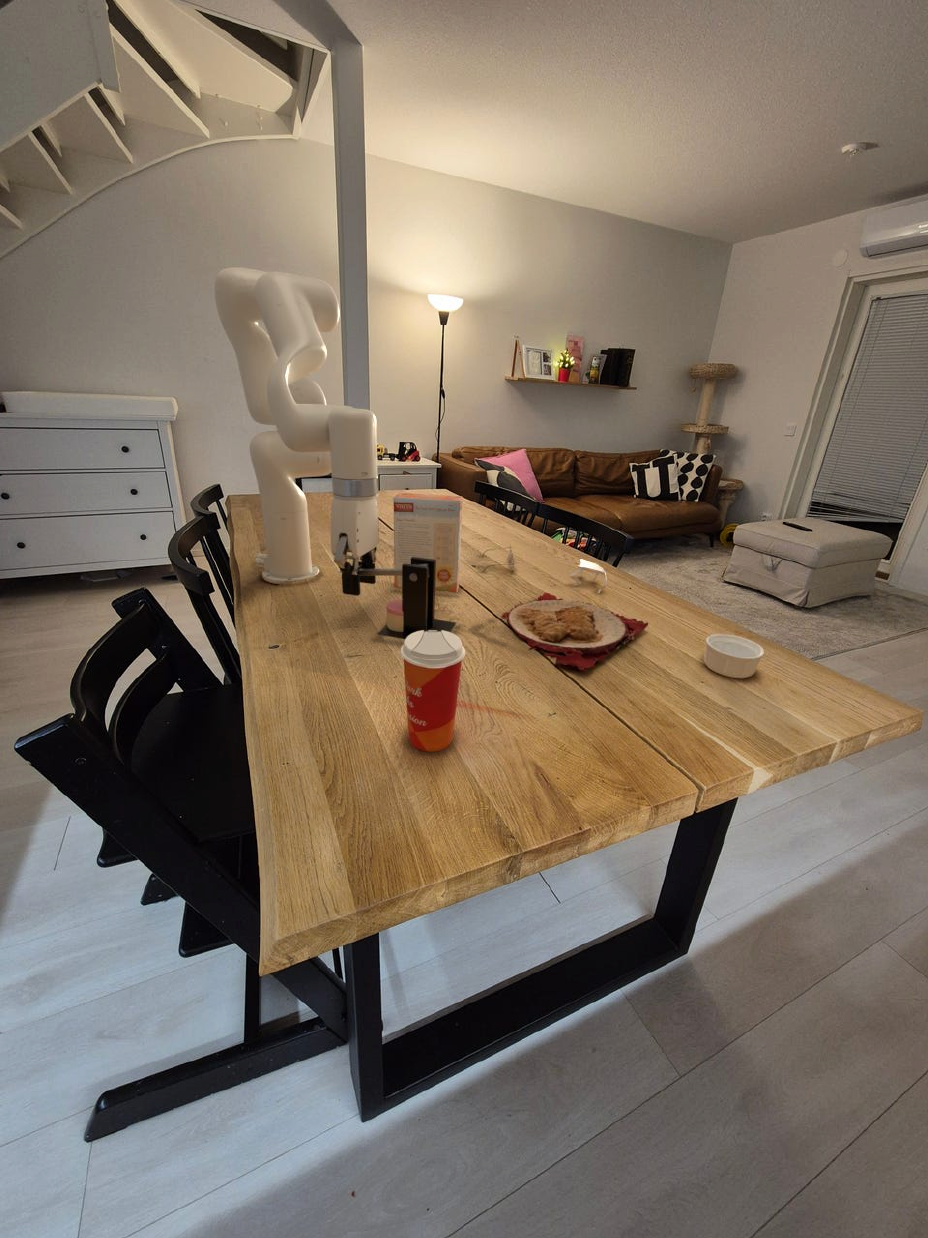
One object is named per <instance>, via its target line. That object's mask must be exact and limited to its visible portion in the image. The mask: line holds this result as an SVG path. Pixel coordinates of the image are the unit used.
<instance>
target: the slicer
mask: <svg viewBox="0 0 928 1238" xmlns="http://www.w3.org/2000/svg"><path fill="white" fill-rule="evenodd" d="M413 564H428V567H427V566H420V565H413ZM428 568H429V578H428ZM435 576H436V560H433V559H425V558H418V557H412V558H411V564H405V563H404V564H403V565H402V587H401V600H402V611H403V632H397V631H393V630H390V629H389V628H388V627H387V624H386V625H385V626H383V628H382V629H380V631H379V632H377V635H378V636H384V637H390V638H395V639H401V640H405V639H406V638H407V637H408V636H409V635H410V634H412V633H414V632H417V631H421V630H424V632H428V630H437V632H441V630H443V631H447V632H450V633H452V631H453V630H454V628H455V627H456V626H457V624H458V622H456V621H449V620H445V619H438V618H435V611H436V609H435V608H436V590H435Z"/></svg>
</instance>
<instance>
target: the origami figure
mask: <svg viewBox="0 0 928 1238" xmlns="http://www.w3.org/2000/svg"><path fill="white" fill-rule="evenodd" d="M579 562H580V563H579V565H577V567H576V568H577V569H576V570H574V571H572V572H571V573H570V574H569V575H568V577H570V578H571V579H573V580H574V581H575V582H576V583H573V584H571V586H572V587H576V586H577V585H580V584H582V582H581V581H580V580H579V579H582V574H583V571H587V572H592V573H595V575H594V577H593V579H592V581H593V583H594V584H596V579H597V578H598V576H599V575H603V582H604V583H603V586H601V587H599V590H598V591H597V594H600V593H601V592H602V590H603V589H605V588H606V587H607V586H608V578H607V573H606V570H605V569H604V568H603V567H602V566H601V565H599V564H598V563H596V562H592V561H589V560H585V559H583V558H582V559H580V561H579ZM578 574H579V579H578V578H577V577H576V576H577V575H578Z"/></svg>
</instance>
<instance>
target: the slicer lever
mask: <svg viewBox="0 0 928 1238" xmlns="http://www.w3.org/2000/svg"><path fill="white" fill-rule="evenodd" d="M413 565H420V566H427V567H428V564H413ZM357 573H358V574H360V576H378V577H379V576H382V577H383V576H385V577H387V576H388V577H389V576H390V577H391V576H393V577H394V576H402V569H394V568H375V569H367V566H366V565H365V564H361V565H360V566H358V570H357ZM428 578H429V568H428Z"/></svg>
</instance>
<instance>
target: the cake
mask: <svg viewBox="0 0 928 1238" xmlns="http://www.w3.org/2000/svg"><path fill="white" fill-rule="evenodd" d="M385 608H386V625H387V627H388V628H389V629H390V630H393V631H397V632H403V611H402V599H394V600H391V601H388V602H387V604H386V607H385Z"/></svg>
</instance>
